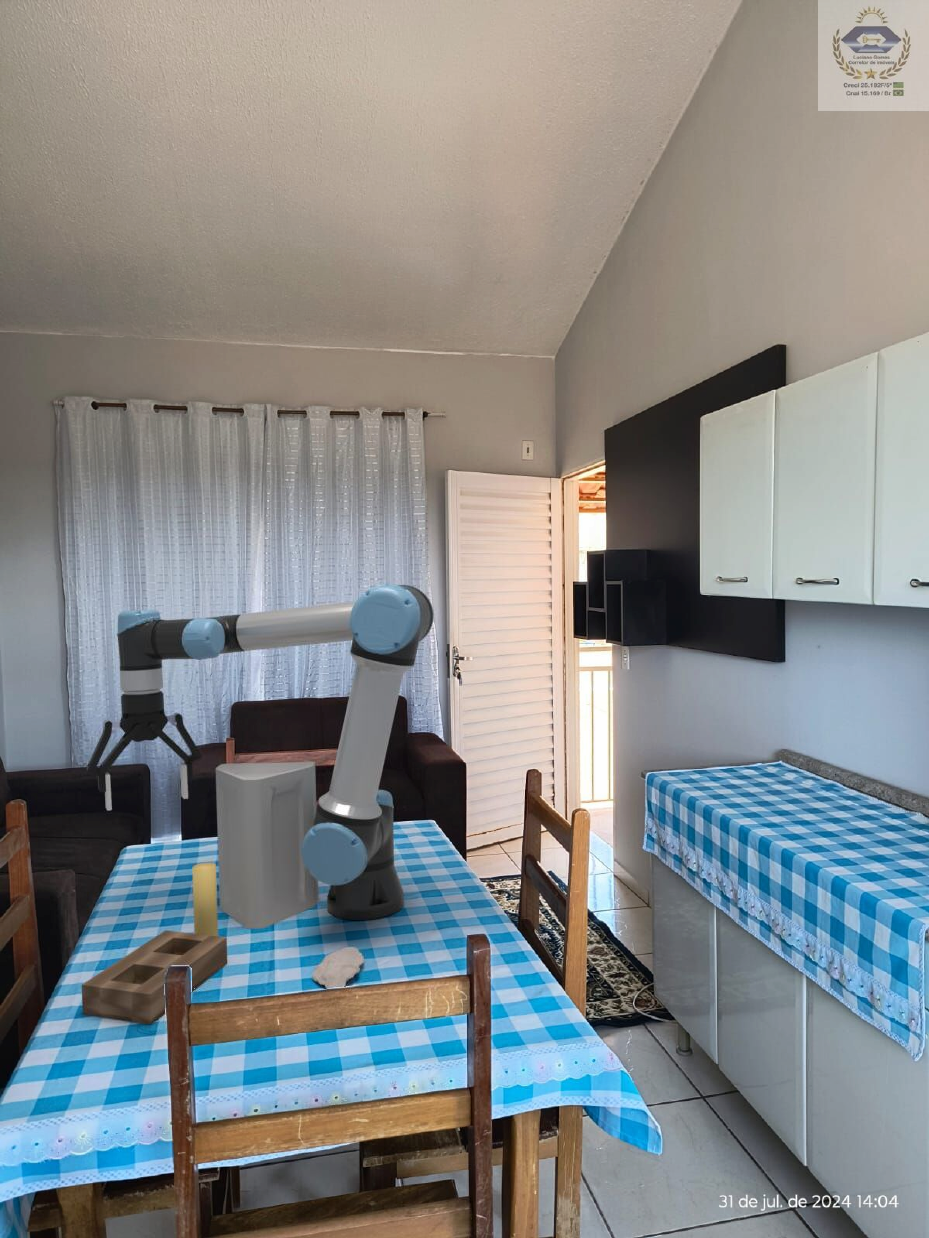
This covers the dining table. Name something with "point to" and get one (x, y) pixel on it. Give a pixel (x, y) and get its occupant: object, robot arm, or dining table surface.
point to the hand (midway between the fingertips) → (147, 803)
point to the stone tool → (338, 967)
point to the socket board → (151, 976)
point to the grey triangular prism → (264, 840)
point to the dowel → (205, 899)
